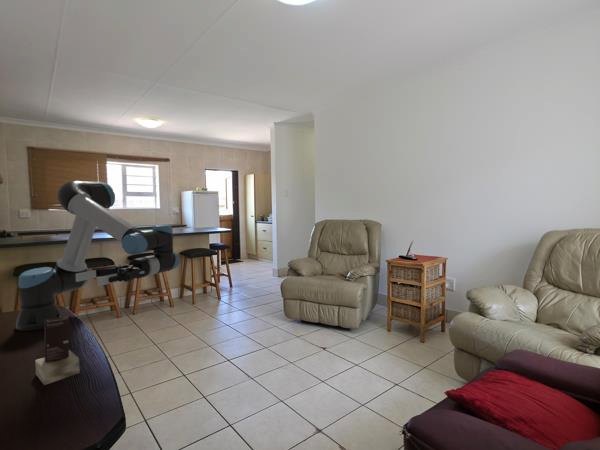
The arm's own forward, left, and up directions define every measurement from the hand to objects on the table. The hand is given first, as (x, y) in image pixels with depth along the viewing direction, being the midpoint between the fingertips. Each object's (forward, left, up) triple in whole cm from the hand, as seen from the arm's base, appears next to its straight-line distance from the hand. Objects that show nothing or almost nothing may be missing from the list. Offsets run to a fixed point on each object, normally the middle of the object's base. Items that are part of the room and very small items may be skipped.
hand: (86, 279), depth 110 cm
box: (+10, -1, -23) cm, 25 cm away
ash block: (+10, -1, -28) cm, 29 cm away
